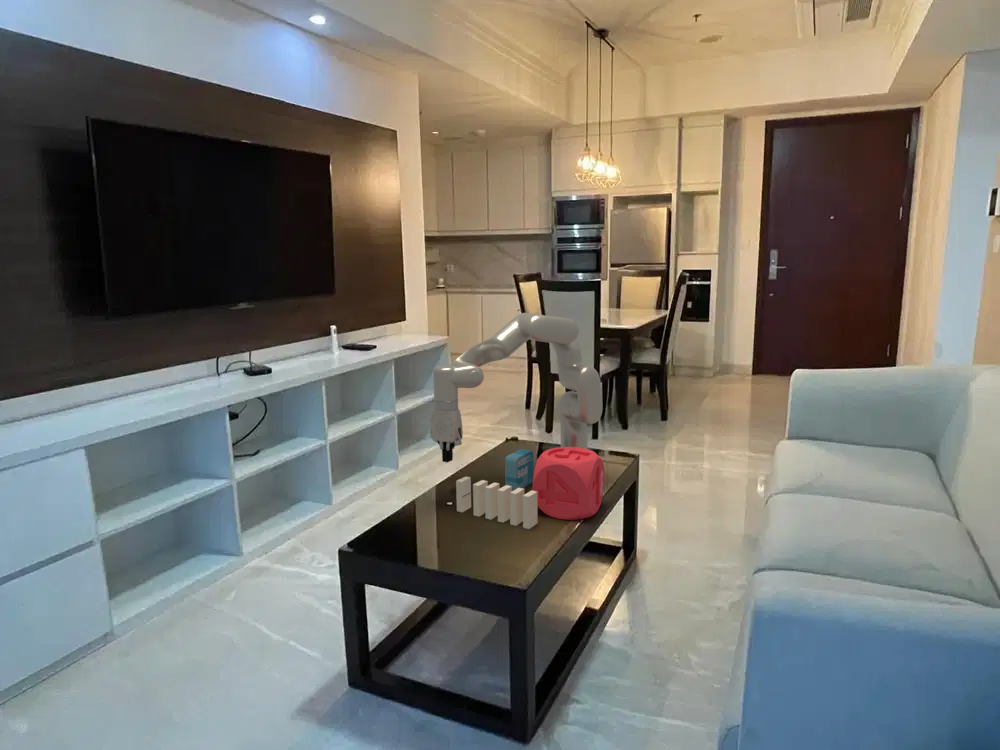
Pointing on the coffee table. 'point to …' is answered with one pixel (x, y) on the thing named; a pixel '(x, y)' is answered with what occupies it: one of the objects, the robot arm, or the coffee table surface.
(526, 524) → the domino
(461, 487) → the domino
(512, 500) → the domino
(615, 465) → the coffee table surface
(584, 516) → the red foam number die
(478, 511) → the domino
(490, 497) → the domino
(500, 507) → the domino
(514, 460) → the data package
